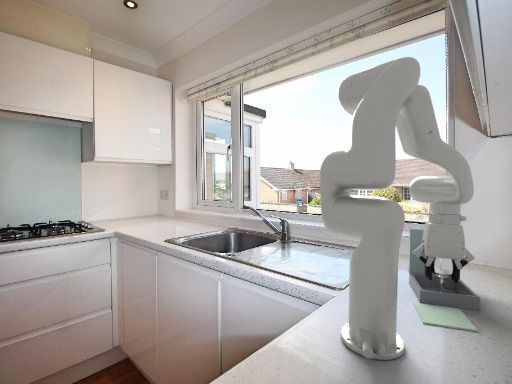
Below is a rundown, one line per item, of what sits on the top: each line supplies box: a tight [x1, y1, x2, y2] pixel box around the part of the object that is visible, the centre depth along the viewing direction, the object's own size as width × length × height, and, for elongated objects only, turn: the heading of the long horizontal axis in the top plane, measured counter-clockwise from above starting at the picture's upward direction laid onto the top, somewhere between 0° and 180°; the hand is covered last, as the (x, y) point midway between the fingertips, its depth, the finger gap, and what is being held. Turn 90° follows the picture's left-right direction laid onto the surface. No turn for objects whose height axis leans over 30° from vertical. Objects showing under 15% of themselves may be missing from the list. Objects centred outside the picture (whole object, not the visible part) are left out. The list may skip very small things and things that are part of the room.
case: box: [408, 227, 481, 311], centre depth 82 cm, size 16×14×18 cm
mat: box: [412, 302, 478, 333], centre depth 70 cm, size 11×11×1 cm
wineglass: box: [431, 258, 454, 292], centre depth 80 cm, size 6×6×12 cm
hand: (441, 279), depth 80 cm, fingers closed on wineglass, 5 cm apart
